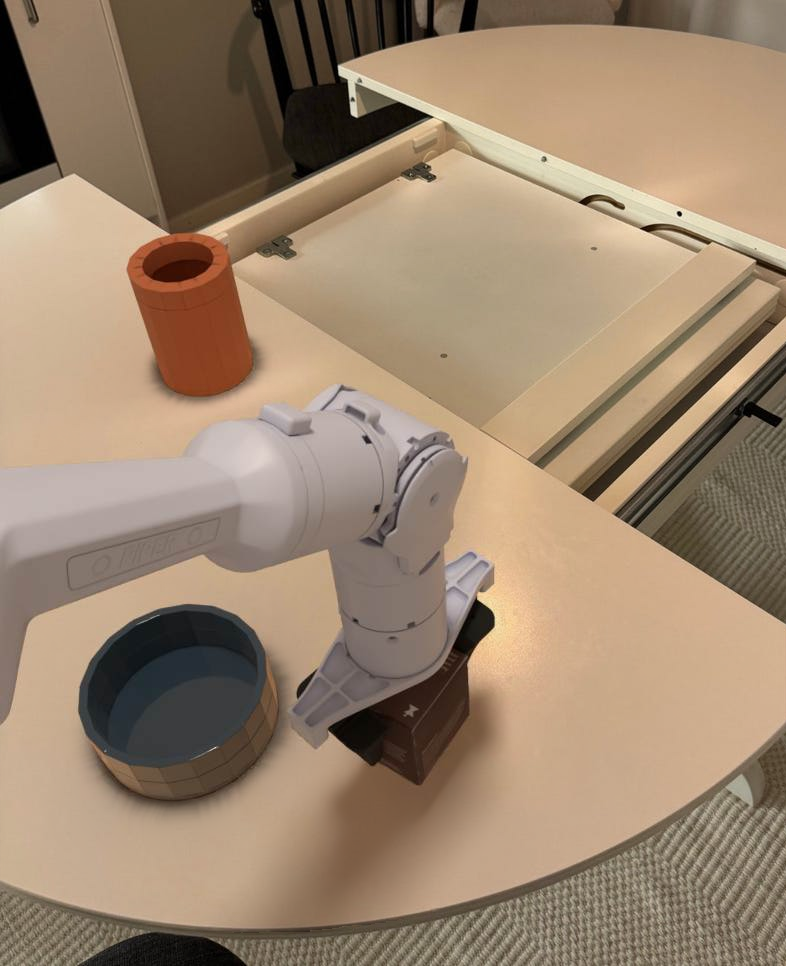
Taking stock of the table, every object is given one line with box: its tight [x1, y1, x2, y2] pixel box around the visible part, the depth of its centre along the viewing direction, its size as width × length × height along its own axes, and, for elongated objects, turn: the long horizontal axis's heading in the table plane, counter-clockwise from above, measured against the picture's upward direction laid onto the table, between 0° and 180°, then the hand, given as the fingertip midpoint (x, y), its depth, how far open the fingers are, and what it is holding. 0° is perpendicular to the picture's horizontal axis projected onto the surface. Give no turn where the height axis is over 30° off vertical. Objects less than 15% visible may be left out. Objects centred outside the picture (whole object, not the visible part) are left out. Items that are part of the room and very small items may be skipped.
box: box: [369, 647, 471, 787], centre depth 59 cm, size 6×6×7 cm
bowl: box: [77, 603, 279, 801], centre depth 66 cm, size 12×12×5 cm
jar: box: [126, 232, 254, 397], centre depth 88 cm, size 9×9×12 cm
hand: (406, 713), depth 60 cm, fingers closed on box, 6 cm apart
